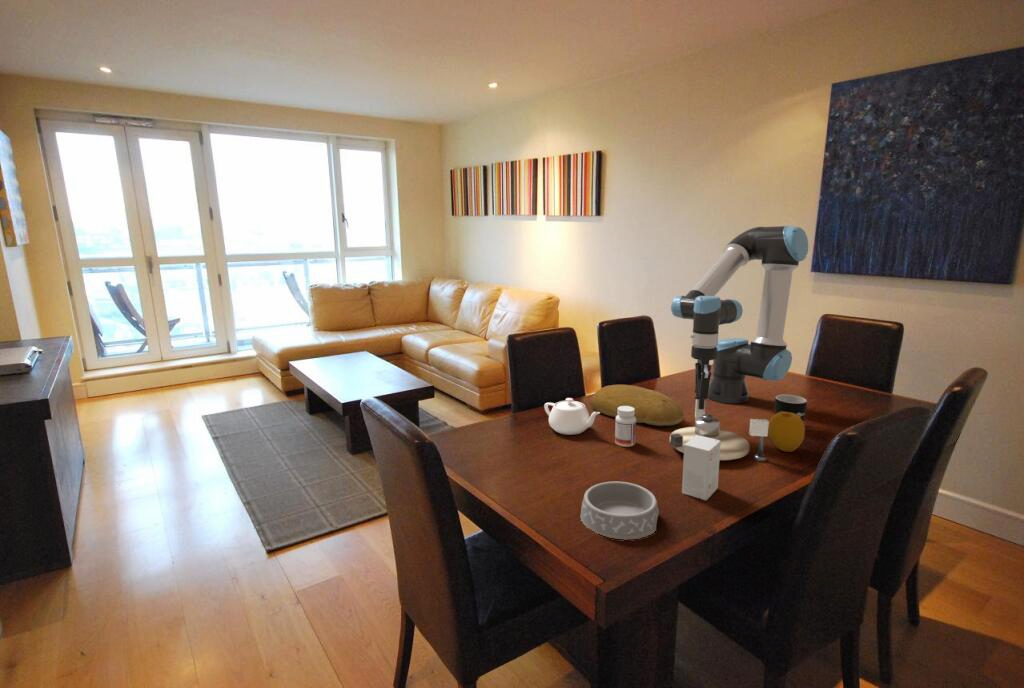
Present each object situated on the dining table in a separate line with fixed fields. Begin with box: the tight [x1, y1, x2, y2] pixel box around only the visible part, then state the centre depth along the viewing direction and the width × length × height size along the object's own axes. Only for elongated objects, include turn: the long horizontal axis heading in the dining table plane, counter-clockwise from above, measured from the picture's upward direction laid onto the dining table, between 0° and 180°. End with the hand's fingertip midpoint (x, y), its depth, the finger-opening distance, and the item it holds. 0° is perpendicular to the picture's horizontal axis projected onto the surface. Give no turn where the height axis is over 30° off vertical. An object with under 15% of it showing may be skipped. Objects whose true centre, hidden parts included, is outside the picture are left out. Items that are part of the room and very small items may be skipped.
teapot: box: [543, 397, 601, 436], centre depth 170 cm, size 22×14×11 cm, turn 48°
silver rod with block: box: [748, 418, 770, 463], centre depth 145 cm, size 3×5×12 cm, turn 81°
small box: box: [681, 435, 721, 501], centre depth 128 cm, size 8×6×13 cm
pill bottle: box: [614, 406, 637, 448], centre depth 158 cm, size 6×6×11 cm
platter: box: [669, 426, 751, 461], centre depth 152 cm, size 22×23×4 cm
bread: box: [589, 384, 684, 427], centre depth 183 cm, size 18×35×10 cm, turn 47°
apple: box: [768, 411, 806, 453], centre depth 152 cm, size 10×10×12 cm
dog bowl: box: [579, 480, 660, 541], centre depth 118 cm, size 17×18×5 cm
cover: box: [694, 413, 721, 438], centre depth 158 cm, size 7×7×6 cm
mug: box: [774, 394, 808, 422], centre depth 169 cm, size 12×9×10 cm
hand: (699, 417), depth 166 cm, fingers closed
